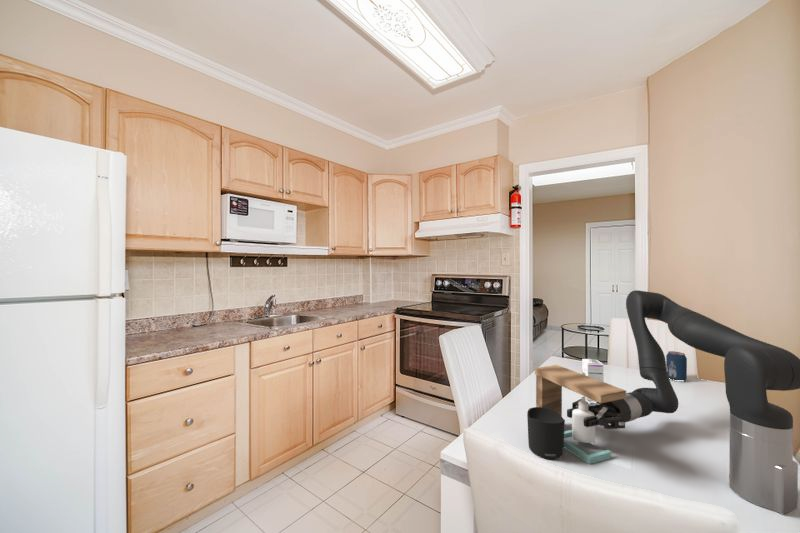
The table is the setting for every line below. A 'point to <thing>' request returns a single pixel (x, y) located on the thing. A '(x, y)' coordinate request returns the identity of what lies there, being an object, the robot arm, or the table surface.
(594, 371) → the syrup box
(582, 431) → the eye dropper bottle
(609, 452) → the mint green tray
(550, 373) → the shelf
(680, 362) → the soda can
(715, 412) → the table surface
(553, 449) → the pen holder
